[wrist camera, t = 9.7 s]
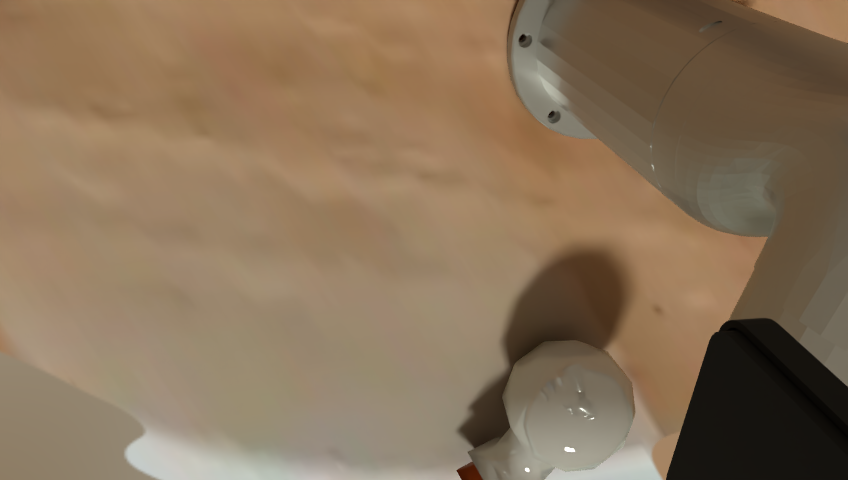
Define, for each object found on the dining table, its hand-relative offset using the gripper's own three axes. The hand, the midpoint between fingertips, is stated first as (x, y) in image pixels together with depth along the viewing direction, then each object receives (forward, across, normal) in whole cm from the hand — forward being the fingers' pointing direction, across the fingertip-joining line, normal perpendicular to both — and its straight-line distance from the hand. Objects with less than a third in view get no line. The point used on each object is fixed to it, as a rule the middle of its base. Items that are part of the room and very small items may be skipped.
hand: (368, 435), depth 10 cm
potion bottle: (+39, -22, +32) cm, 55 cm away
